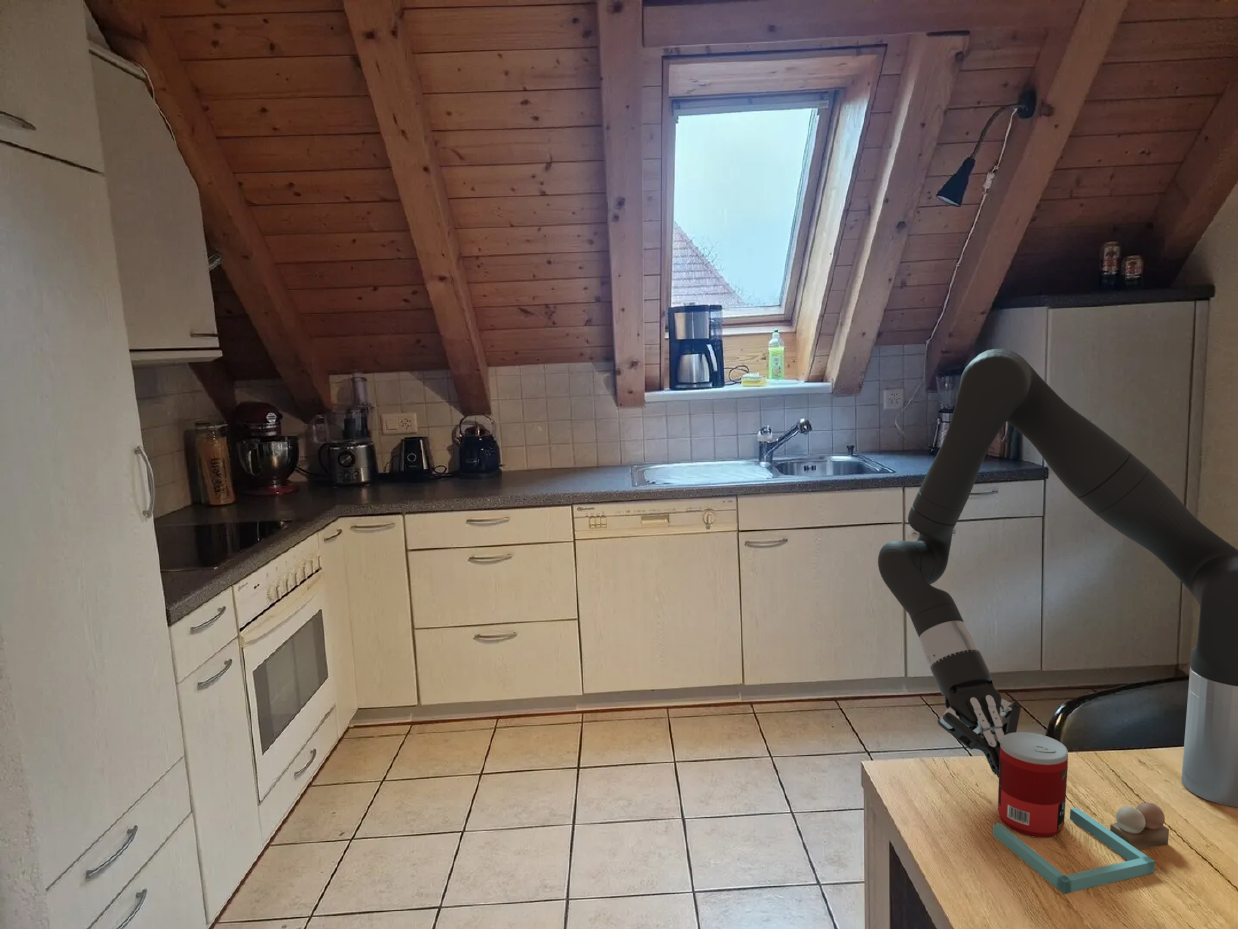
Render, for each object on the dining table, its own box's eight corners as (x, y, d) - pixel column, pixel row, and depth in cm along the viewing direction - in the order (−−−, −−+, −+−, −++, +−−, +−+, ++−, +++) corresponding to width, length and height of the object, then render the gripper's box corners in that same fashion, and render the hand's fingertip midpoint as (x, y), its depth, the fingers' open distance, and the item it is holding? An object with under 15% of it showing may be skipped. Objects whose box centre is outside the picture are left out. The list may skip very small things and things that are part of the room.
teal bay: (1076, 817, 111) (1076, 807, 110) (1154, 872, 99) (1154, 861, 99) (993, 835, 107) (993, 824, 107) (1063, 894, 96) (1064, 882, 96)
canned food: (1073, 841, 106) (1078, 761, 104) (1007, 837, 107) (1011, 758, 105) (1051, 807, 113) (1055, 732, 111) (990, 804, 114) (992, 730, 113)
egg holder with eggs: (1147, 829, 107) (1149, 795, 107) (1169, 844, 104) (1171, 809, 104) (1108, 838, 106) (1110, 803, 105) (1129, 853, 103) (1131, 817, 102)
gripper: (926, 653, 119) (979, 775, 109) (1005, 642, 122) (1063, 760, 112) (904, 674, 125) (952, 791, 115) (980, 663, 128) (1033, 776, 118)
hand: (1007, 776), depth 114 cm, fingers closed
